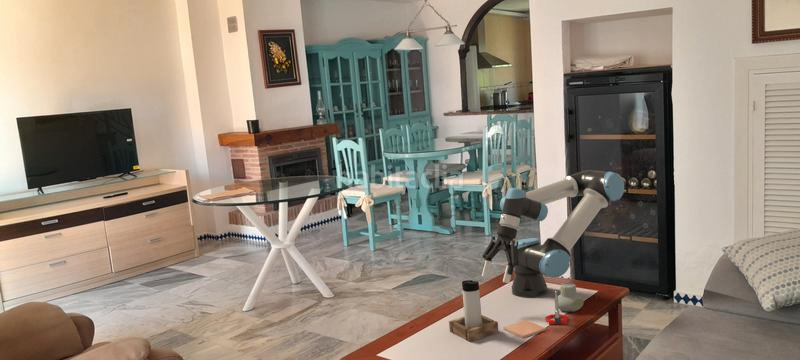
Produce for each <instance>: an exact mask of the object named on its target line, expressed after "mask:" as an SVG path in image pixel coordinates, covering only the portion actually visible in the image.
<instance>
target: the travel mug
mask: <svg viewBox="0 0 800 360" xmlns="http://www.w3.org/2000/svg"><path fill="white" fill-rule="evenodd" d="M479 283H480V282H479V280H478V281H477V280H473V279H471V280H470V279H467V280H462V281H461V287H462V290H461V291H462V299H463V300H462V301H463V312H464V313H463V314H464V315H463V317H465V327H467V328H469V329H472V328H475V327H478V326H481V325H482V317H481V315H482V306H481V295H480V294H481V293H480V284H479Z"/></svg>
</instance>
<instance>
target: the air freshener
mask: <svg viewBox="0 0 800 360" xmlns="http://www.w3.org/2000/svg"><path fill="white" fill-rule="evenodd" d="M576 285H577V284H575V283H572V282H563V283H562V284H560V294H559V295H557V296H558V308H559V311H560V310H561V311H562V312H569V313H574V312H577V311H578V310H580V309H581V308H582V307H583V306H584V298H583V297H582V296H581V295H579V294H577V286H576Z"/></svg>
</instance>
